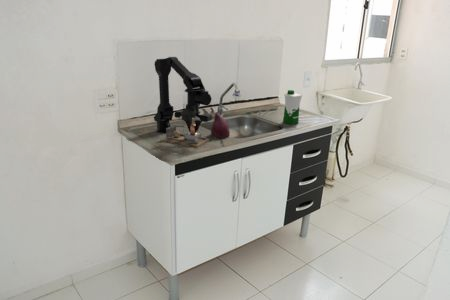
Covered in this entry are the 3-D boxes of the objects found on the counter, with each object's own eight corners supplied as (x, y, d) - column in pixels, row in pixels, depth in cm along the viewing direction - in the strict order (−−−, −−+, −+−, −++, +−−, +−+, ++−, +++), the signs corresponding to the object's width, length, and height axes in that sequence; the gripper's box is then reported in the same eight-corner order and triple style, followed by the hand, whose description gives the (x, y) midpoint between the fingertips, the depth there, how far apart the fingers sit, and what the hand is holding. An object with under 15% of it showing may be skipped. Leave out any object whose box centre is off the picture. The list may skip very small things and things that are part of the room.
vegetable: (214, 144, 196) (209, 119, 188) (209, 136, 204) (204, 112, 197) (232, 138, 197) (228, 114, 190) (227, 131, 206) (222, 107, 199)
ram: (184, 140, 185) (183, 125, 183) (189, 137, 191) (189, 122, 188) (195, 142, 183) (195, 126, 180) (201, 139, 188) (201, 124, 185)
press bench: (163, 141, 187) (163, 129, 185) (176, 135, 198) (175, 124, 195) (198, 147, 180) (198, 135, 178) (208, 141, 190) (209, 129, 188)
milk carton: (289, 120, 237) (292, 89, 231) (300, 123, 231) (304, 91, 224) (280, 122, 232) (283, 90, 225) (291, 125, 225) (294, 93, 219)
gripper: (168, 102, 177) (168, 133, 182) (202, 107, 170) (202, 139, 175) (180, 98, 186) (180, 128, 192) (212, 103, 179) (212, 133, 184)
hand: (193, 132), depth 185 cm, fingers closed on ram, 3 cm apart
